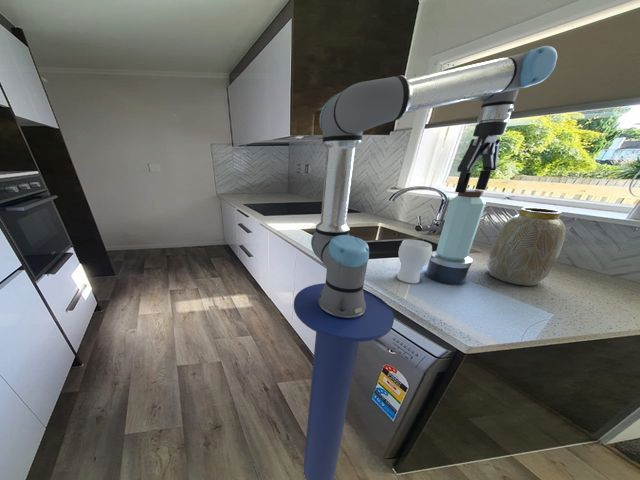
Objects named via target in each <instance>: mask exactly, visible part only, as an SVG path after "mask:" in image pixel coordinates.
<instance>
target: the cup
mask: <svg viewBox="0 0 640 480" xmlns="http://www.w3.org/2000/svg"><path fill="white" fill-rule="evenodd" d="M432 252H433V245H432V243H429V242H427V241H424V240H419V239H404V240H402V242H401V243H400V245H399V248H398V259H399V263H400V269H399V270H398V273H397V277H396V278H397V279H398V280H399V281H401V282H403V283H408V284H418V283H420V280H421V272H422V270H423V268H424V267H425V266H426V265H428V263H429V260H430V258H431V255H432Z"/></svg>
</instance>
